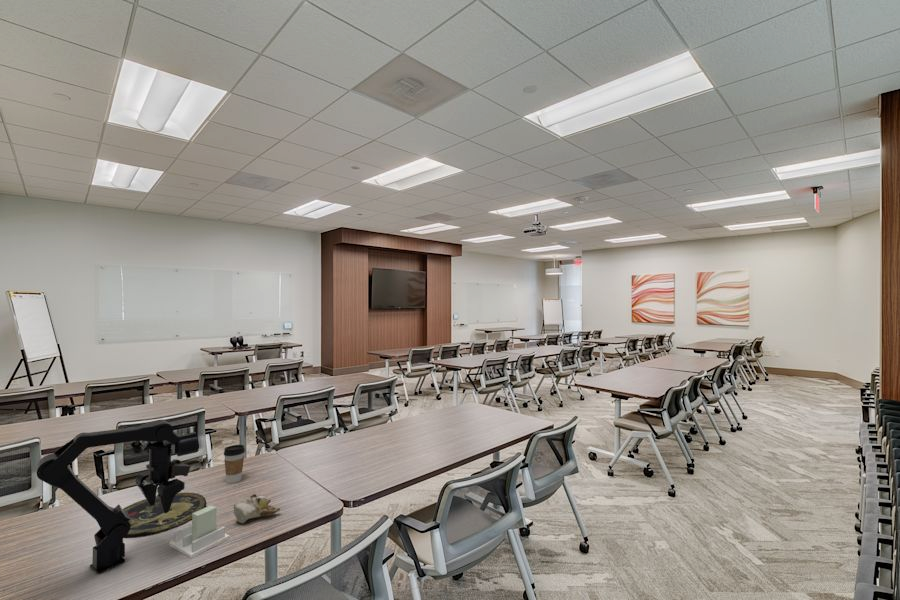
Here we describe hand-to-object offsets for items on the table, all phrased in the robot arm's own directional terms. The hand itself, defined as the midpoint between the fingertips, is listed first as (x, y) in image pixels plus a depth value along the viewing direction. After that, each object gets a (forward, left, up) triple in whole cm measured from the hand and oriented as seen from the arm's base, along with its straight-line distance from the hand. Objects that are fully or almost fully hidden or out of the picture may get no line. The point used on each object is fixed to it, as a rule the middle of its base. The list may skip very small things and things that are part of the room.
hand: (159, 508), depth 126 cm
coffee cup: (+41, +26, -12) cm, 50 cm away
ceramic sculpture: (+27, -10, -12) cm, 31 cm away
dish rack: (+8, -9, -12) cm, 17 cm away
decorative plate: (+10, +22, -13) cm, 27 cm away
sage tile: (+8, -12, -11) cm, 18 cm away
